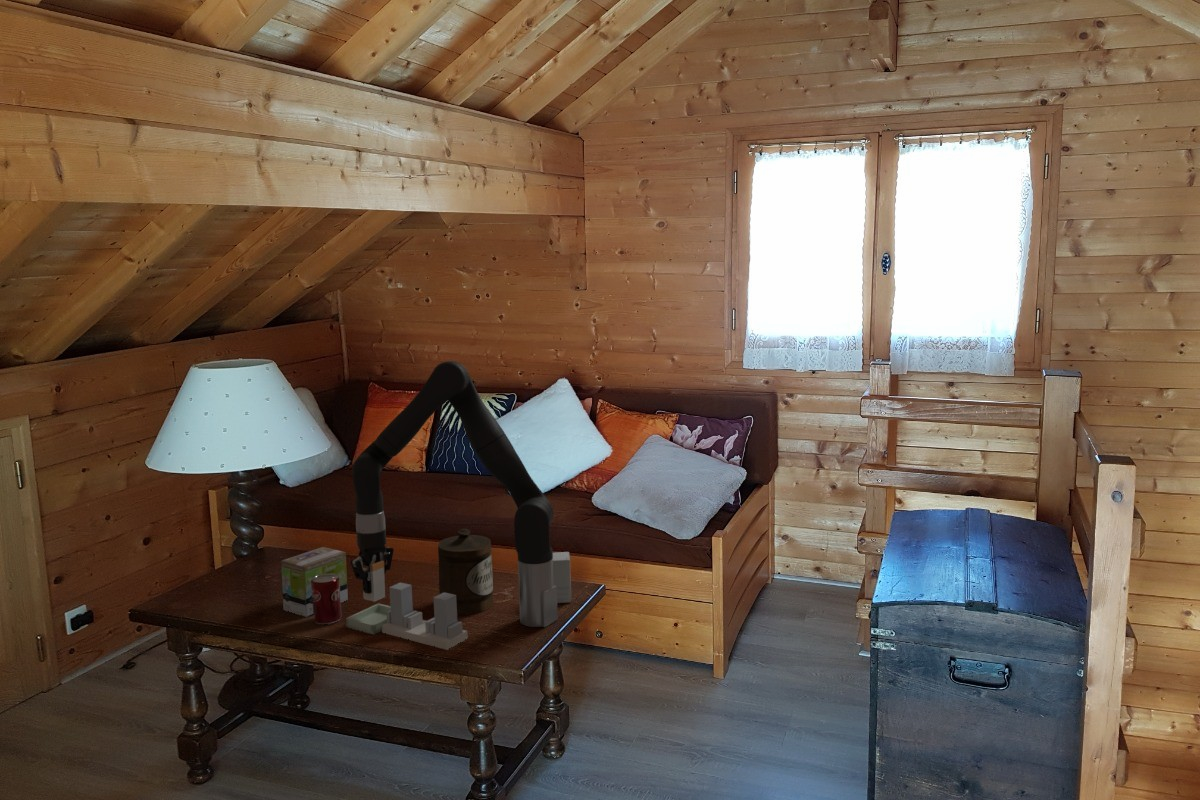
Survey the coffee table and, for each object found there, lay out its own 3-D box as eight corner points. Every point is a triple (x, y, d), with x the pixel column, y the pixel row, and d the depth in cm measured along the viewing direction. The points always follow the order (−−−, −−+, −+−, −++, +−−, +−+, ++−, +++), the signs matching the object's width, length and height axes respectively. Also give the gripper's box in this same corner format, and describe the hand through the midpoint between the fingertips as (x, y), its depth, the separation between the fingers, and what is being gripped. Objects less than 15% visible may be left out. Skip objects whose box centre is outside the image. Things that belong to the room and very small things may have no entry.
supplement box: (571, 593, 268) (570, 551, 266) (571, 603, 261) (570, 559, 259) (545, 594, 268) (544, 552, 266) (544, 604, 260) (543, 560, 258)
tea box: (307, 618, 253) (303, 566, 251) (283, 611, 259) (279, 560, 256) (349, 600, 266) (346, 550, 264) (325, 594, 271) (322, 545, 269)
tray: (406, 618, 252) (405, 609, 251) (373, 634, 242) (373, 625, 241) (378, 611, 257) (378, 603, 256) (346, 627, 247) (345, 618, 246)
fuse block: (467, 638, 238) (465, 593, 236) (447, 650, 231) (445, 603, 229) (403, 622, 249) (401, 579, 248) (382, 632, 243) (379, 588, 241)
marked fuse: (385, 596, 249) (383, 561, 247) (374, 601, 245) (372, 565, 244) (374, 594, 251) (372, 558, 249) (363, 598, 248) (361, 562, 246)
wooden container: (483, 616, 252) (480, 538, 249) (432, 613, 255) (428, 535, 252) (500, 596, 267) (497, 522, 263) (451, 593, 270) (447, 520, 266)
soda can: (313, 627, 247) (310, 583, 245) (314, 616, 254) (311, 574, 252) (341, 623, 249) (339, 580, 247) (341, 613, 256) (339, 571, 254)
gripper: (361, 537, 237) (364, 601, 240) (400, 523, 249) (403, 584, 252) (340, 533, 241) (344, 596, 244) (379, 519, 253) (383, 579, 256)
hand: (374, 589), depth 248 cm, fingers closed on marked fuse, 4 cm apart
